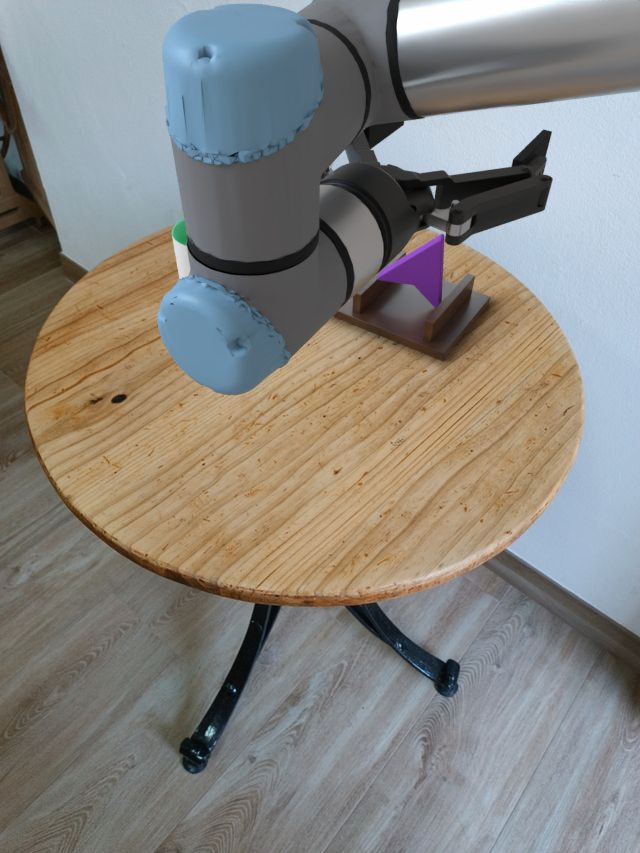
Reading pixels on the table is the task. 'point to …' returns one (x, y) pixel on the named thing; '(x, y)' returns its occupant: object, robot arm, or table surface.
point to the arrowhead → (420, 270)
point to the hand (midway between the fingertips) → (469, 126)
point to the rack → (416, 313)
